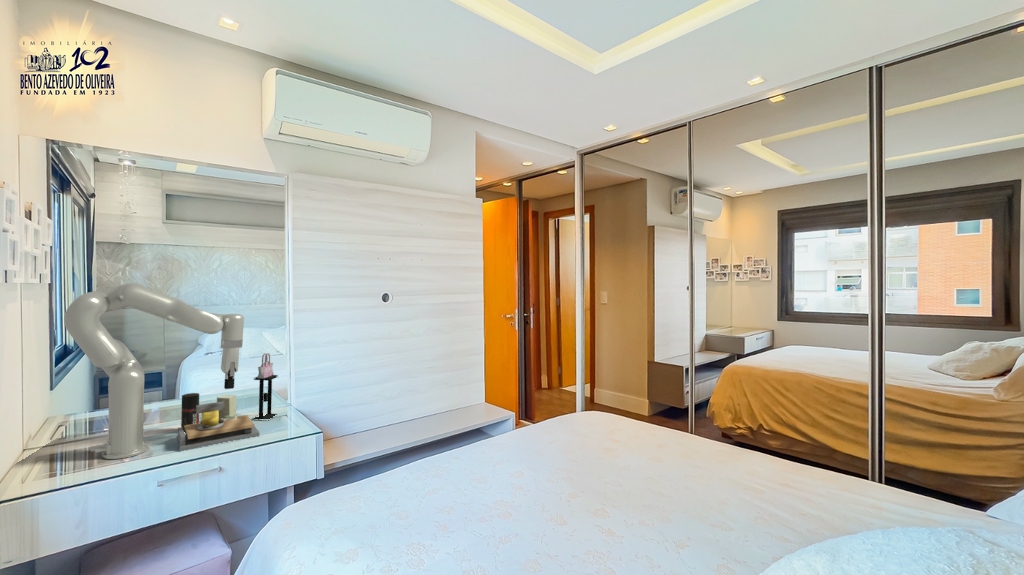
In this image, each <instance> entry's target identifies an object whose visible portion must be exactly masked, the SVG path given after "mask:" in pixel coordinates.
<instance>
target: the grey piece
mask: <svg viewBox="0 0 1024 575" xmlns="http://www.w3.org/2000/svg"><path fill="white" fill-rule="evenodd" d="M256 436H257V437H260V431H259V430H258V429H257V427H256V426H255V425H254V427H252V428H247V429H241V430H236V431H231V432H225V433H220V434H214V435H209V436H204V437H198V438H193V439H188V438H187V435H186V433H184V431H183V428H182V427H177V436H176V442H177V446H178V449H179V452H184V450H185V451H188V450H189V449H190V450H195V449H199V448H198V447H200V448H203V447H202V446H205V447H209V446H208V445H211V446H214V445H213V444H216V445H219V444H218V443H221V444H224V443H223V442H226V443H229V442H228V441H231V442H234V441H233V440H236V441H240V439H242V440H246V439H245V438H247V439H250V437H252V438H257V437H256ZM194 448H195V449H194Z"/></svg>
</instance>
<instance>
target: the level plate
mask: <svg viewBox="0 0 1024 575" xmlns="http://www.w3.org/2000/svg"><path fill="white" fill-rule="evenodd" d="M219 410H224V402H217V401H216V402H211V403H204V404H203V403H202V404H199V405H196V413H197V414H198V413H199V414H201V420H200V422H199V423H197V424H191V425H185V426H184V429H185V432H186V433H185V434H186V435H187V438H188V439H193V438H198V437H204V436H209V435H214V434H220V433H225V432H231V431H236V430H241V429H247V428H252V427H254V426H255V424H254V422H253V420H251V419H250V417H249V415H248V414H246V415H240V416H237V415H236V416H235V414H233V415H227V416H223V418H221V419H220V420H219Z"/></svg>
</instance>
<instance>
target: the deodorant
mask: <svg viewBox="0 0 1024 575" xmlns="http://www.w3.org/2000/svg"><path fill="white" fill-rule="evenodd" d="M196 405H200V393H198V392H190V393H185V394H182V395H181V412H180V414H181V417H180V418H181V421H180V423H181V425H180V426H181V427H182V428H183V431H184V432H185V429H184V426H185V425H191V424H197V423H200V413H198V414H197V413H196ZM184 434H186V432H185V433H184Z"/></svg>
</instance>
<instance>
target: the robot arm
mask: <svg viewBox="0 0 1024 575" xmlns="http://www.w3.org/2000/svg"><path fill="white" fill-rule="evenodd" d="M125 308H132V309H135V310H138V311H141V312H142V313H143V312H144V313H147V314H150V315H153V316H155V317H158V318H161V319H162V320H163V319H164V320H166V321H169V322H172V323H174V324H175V323H176V324H179V325H182V326H184V327H186V328H189V329H192V330H195V331H198V332H201V333H204V334H207V335H214V334H218V333H220V332H221V336H220V349H222V355H221V363H220V364H221V365H220V370H221V373H224V374H225V376H224V386H223V388H224V389H225V390H231V389H235V374H236V373H237V372H239V358H240V349H242V348H243V341H244V328H245V327H244V324H245V317H244V315H243V314H240V313H226V314H225V313H223V314H222V313H214V312H207V311H204V310H202V309H199V308H196V307H194V306H191V305H189V304H187V303H186V302H184V301H182V300H181V299H178V298H176V297H174V296H170V295H169V294H166V293H163V292H161V291H157V290H154V289H152V288H150V287H146V286H145V285H143V284H141V283H138V282H130V283H125V284H121V285H118V286H113V287H109V288H108V287H107V288H103V289H100V290H99V289H98V290H94V291H90V292H89V291H88V292H86V293H84V294H81V295H79V296H78V297H77V298H76V299H74V300H72V302H71V303H70V304H69V306H68V307H67V309H66V311H65V313H64V318H63V323H64V327H65V330H67V332H68V334H69V335H70V336H71V338H72V339H73V340H74V342H75V343H76V344H77V345H78V347H79V348H80V349H81V350H82V352H83V353H84V355H85V356H86V357H87V358H88V360H89V361H90V363H92V365H93V366H95V367H96V368H98V369H99V368H100V369H102V370H103V371H104V373H105V374H106V375H107V376H108V378H109V379H108V385H107V386H108V388H107V390H108V434H107V435H108V437H107V439H108V440H106V441H107V442H106V443H103V444H100V445H94V446H90V453H93V452H94V453H95V454H98V453H101V452H102V453H101V455H102V456H101V457H102V458H103V459H107V460H118V459H120V460H121V459H125V458H130V457H135V456H137V455H140V454H143V453H144V452H146V451H147V450H148V449H149V444H148V443H147V442H144V418H145V417H144V410H145V408H144V404H145V403H144V402H145V400H144V398H145V396H144V395H145V394H144V393H145V371H144V368H143V366H142V365H141V363H140V362H139V361H138V359H136V357H135V356H134V355H133V353H132V352H131V351H130V349H129V348H128V347H127V346H126V345H125V343H123V342H122V341H121V340H118V339H116V338H114V337H112V335H111V334H110V333H109V331H108V330H107V328H106V327H105V326H104V325H103V324H102V323H101V321H100V317H101V315H103V314H105V313H109V312H113V311H117V310H121V309H125Z"/></svg>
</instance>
